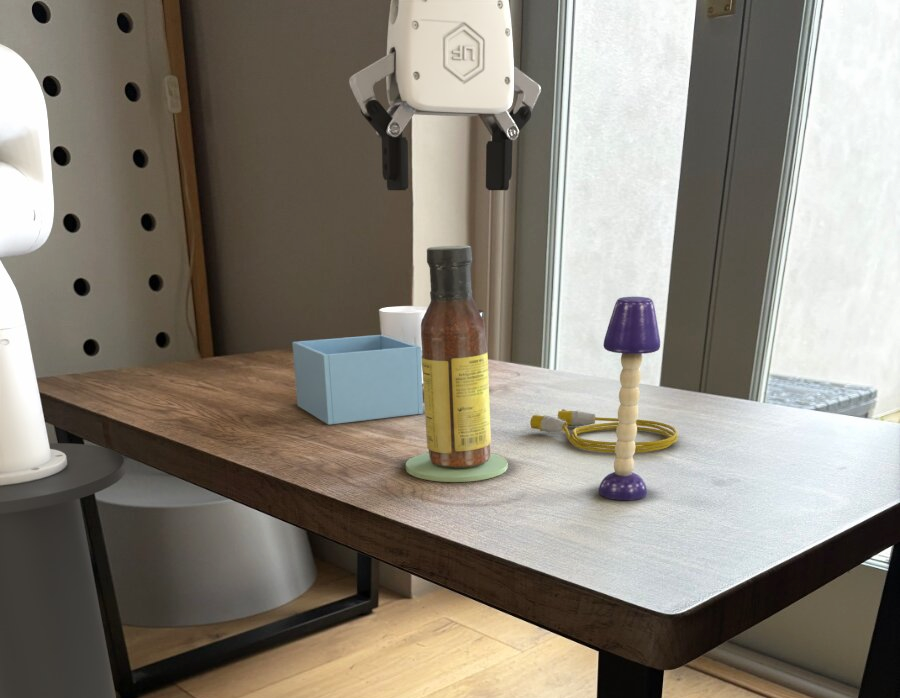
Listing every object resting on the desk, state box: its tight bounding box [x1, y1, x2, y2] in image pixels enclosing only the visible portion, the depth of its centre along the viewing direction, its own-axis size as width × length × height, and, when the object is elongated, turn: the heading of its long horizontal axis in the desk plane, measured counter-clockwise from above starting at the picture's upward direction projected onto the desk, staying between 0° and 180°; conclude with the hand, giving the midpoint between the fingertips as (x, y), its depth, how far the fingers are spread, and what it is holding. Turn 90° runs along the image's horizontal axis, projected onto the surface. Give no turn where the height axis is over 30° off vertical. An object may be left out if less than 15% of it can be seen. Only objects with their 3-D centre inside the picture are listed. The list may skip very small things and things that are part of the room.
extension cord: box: [530, 409, 679, 454], centre depth 101 cm, size 12×16×2 cm
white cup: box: [378, 305, 429, 385], centre depth 131 cm, size 8×8×10 cm
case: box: [292, 334, 424, 426], centre depth 115 cm, size 12×12×8 cm
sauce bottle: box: [421, 245, 492, 469], centre depth 87 cm, size 6×6×20 cm
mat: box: [405, 452, 509, 483], centre depth 91 cm, size 10×10×1 cm
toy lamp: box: [598, 296, 661, 501], centre depth 79 cm, size 5×5×17 cm
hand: (448, 190), depth 81 cm, fingers open, 9 cm apart
